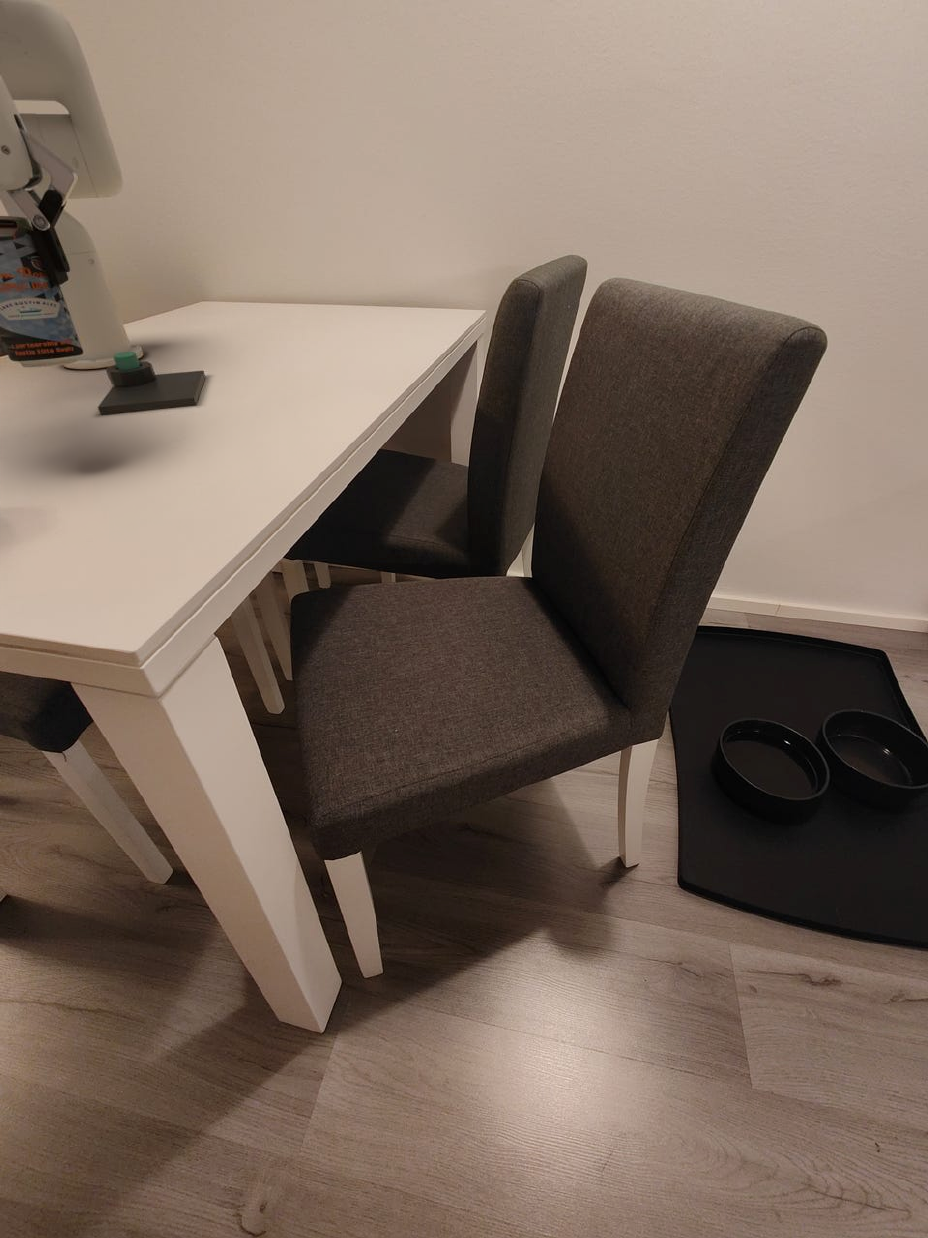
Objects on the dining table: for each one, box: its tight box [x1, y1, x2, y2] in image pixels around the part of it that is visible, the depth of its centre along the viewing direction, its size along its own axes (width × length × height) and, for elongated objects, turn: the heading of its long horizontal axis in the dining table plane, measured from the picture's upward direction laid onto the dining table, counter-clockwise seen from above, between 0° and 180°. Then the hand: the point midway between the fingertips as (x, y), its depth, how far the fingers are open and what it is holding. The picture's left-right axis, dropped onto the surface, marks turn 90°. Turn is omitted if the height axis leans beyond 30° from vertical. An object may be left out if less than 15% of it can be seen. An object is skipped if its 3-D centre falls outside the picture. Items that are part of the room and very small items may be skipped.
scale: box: [97, 360, 206, 416], centre depth 80 cm, size 14×12×3 cm
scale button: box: [113, 352, 141, 370], centre depth 82 cm, size 3×3×2 cm
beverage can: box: [0, 215, 83, 368], centre depth 51 cm, size 6×7×12 cm
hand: (18, 282), depth 51 cm, fingers closed on beverage can, 6 cm apart
